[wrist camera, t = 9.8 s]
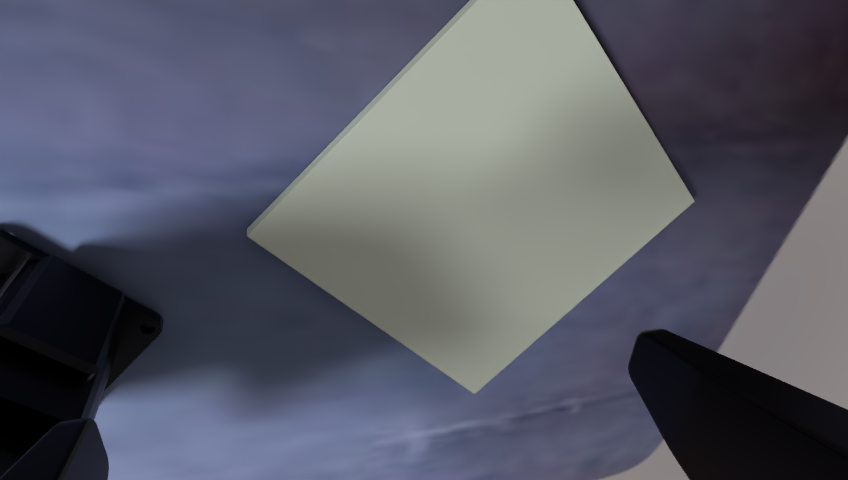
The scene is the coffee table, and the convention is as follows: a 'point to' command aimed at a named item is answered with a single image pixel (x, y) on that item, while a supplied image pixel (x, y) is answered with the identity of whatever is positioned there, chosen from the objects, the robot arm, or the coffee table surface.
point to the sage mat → (481, 189)
